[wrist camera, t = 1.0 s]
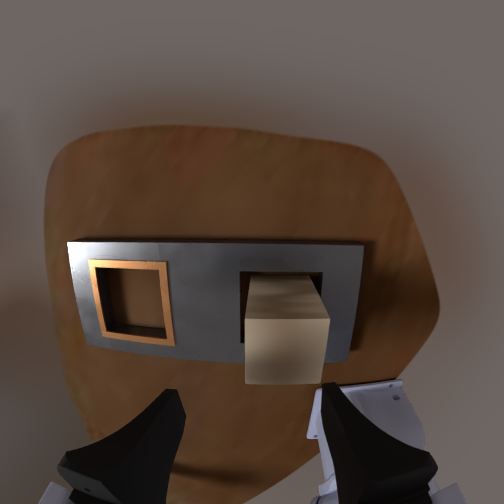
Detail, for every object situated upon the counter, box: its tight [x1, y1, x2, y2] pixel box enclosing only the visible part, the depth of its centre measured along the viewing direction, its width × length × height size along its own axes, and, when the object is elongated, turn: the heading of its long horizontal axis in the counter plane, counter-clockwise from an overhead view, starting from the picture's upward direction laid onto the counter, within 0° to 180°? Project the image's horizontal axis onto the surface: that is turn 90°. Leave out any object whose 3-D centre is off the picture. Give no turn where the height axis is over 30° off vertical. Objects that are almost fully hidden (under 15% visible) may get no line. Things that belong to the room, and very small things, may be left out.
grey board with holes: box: [67, 239, 364, 363], centre depth 21 cm, size 24×10×2 cm, turn 90°
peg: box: [245, 275, 330, 384], centre depth 18 cm, size 4×4×8 cm
